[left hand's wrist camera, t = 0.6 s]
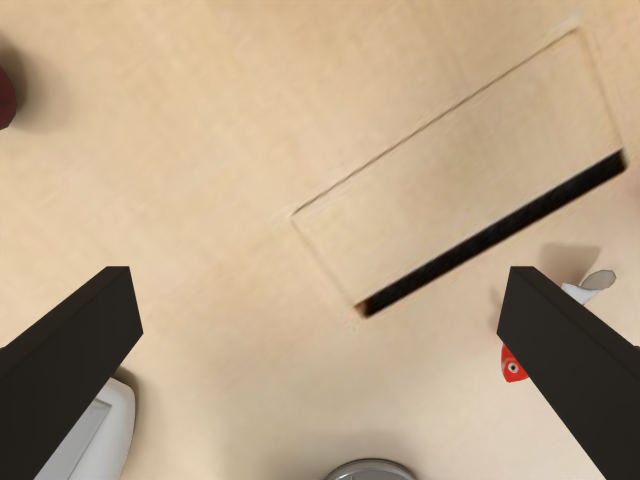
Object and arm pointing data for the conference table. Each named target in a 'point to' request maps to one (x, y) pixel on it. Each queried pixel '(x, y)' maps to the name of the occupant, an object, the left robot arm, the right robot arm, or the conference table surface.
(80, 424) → the projector
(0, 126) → the dark red ball
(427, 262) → the conference table surface
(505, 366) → the fish
